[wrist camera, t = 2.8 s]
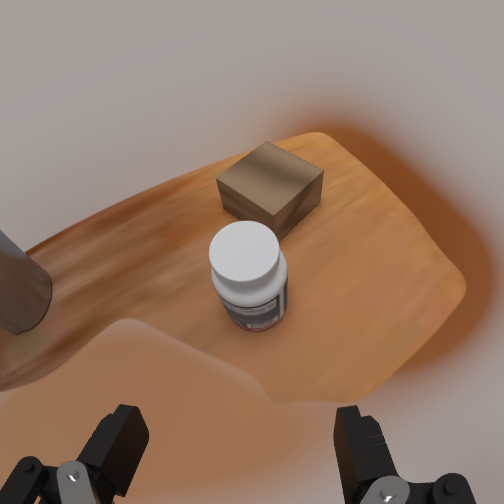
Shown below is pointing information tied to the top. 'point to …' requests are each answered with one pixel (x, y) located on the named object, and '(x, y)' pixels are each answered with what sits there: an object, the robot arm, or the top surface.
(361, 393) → the top surface
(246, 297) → the pill bottle
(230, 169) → the walnut block
